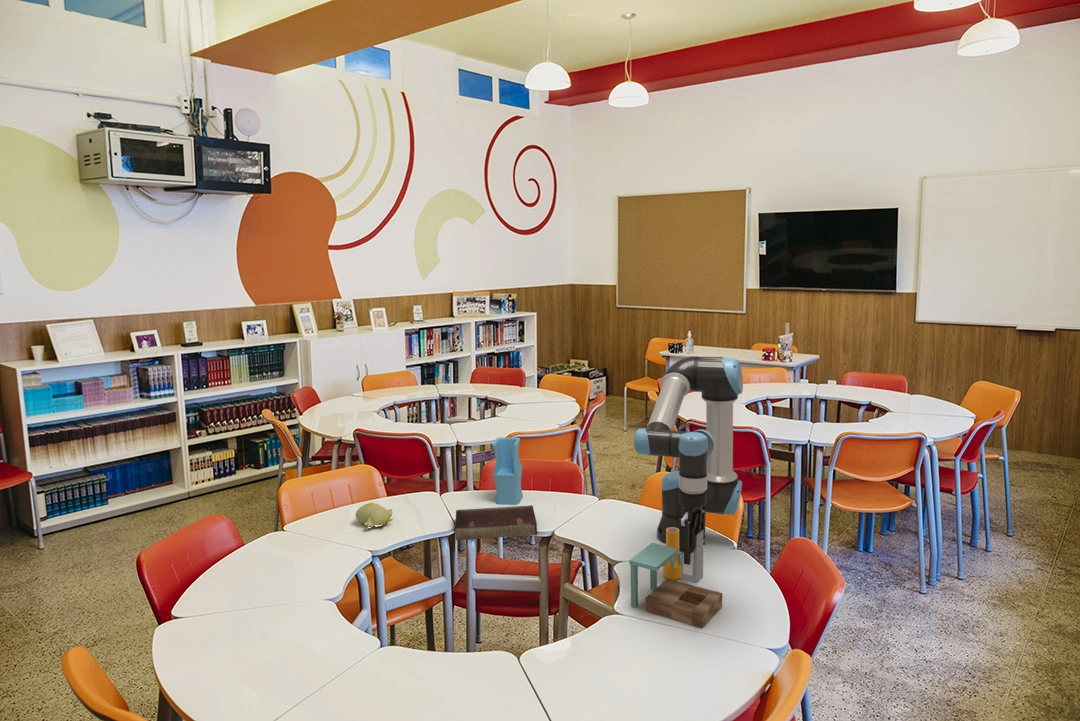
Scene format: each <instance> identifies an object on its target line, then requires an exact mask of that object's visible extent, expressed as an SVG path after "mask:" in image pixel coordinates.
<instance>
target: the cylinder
mask: <svg viewBox="0 0 1080 721" xmlns="http://www.w3.org/2000/svg"><path fill="white" fill-rule="evenodd" d="M665 546H667V547H672V548H676V549H678V554H677V555H675V556H674V557H673V558H672V559H671V560H669V561H668V562H667V563H666V564H665V565H663V566H662V576H663V577H664V578H665V579H667V578H668V579H671V580H675V581H676V580H681V552H680V551H679V529H678V528H675V527H669V528H667V529H666V543H665Z"/></svg>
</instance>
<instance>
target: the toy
mask: <svg viewBox="0 0 1080 721" xmlns="http://www.w3.org/2000/svg"><path fill="white" fill-rule="evenodd" d="M392 516H393V508H390V509H387V508H385V507H383V506H381V505H379V504H378V503H375V502H370V503H369V502H368V503H366V504H364V505H362V506H360V507H359V508H358V509H357V510H356V512H355V519H356V520H357V521H358V522H359V523H361V522H362V523H361V524H364V523H366V524H364V526H366V527H365V528H366V529H367V528H368V527H372V526H374V525H381V524H382V525H383V524H384V525H386V524H387V523H389V522H392V521H393V518H392ZM386 522H387V523H386ZM385 523H386V524H385ZM382 525H381V526H378V527H377V528H381V527H383V526H384V525H383V526H382Z"/></svg>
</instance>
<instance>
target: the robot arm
mask: <svg viewBox="0 0 1080 721" xmlns="http://www.w3.org/2000/svg"><path fill="white" fill-rule="evenodd" d="M742 371H743V370H742V366H741V363H740V361H739V360H738V359H737V358H735V357H726V356H694V355H692V356H687V357H684V358H681V359H680V360H677V361H676V362H674V363H673V364H671V365H670V366H669V367H668V368H667V369H666V370H665V372H664V373H663V375H662V377H661V379H660V392H659V394H658V396H657V400H656V402H655V405H654V407H653V410H652V413H651V416H650V418H649V421H648V422H647V425H646V427H644V428H638V429H636V431H635V433H634V438H633V445H634V446H633V447H634V451H635V452H636V454H639V455H645V456H654V457H668V458H669V457H670V458H678V468H679V469H678V470H673V471H671V472H668V473H666V474H665V475H664V476H663V477H662V481H661V488H660V489H661V517H660V520H659V523H658V526H657V529H656V538H657V539H658V540H659V541H661V542H662V543H664V544H666V529H667V528H669V527H675V528H678V529H679V551H680V552H682V553H683V574H687V575H691V576H693V573H694V552H692V548H693V534H694V529H703V546H705V545H706V542H705V540H706V513H707V514H708V513H709V514H716V515H717V514H718V515H723V516H724V515H731V516H732V515H735V514H736V513H737V512H738V508H739V506H740V505H739V504H740V501H741V500H740V499H741V495H742V488H743V481H742V480H740V479H738V474H737V473H736V472H735V471H734V470H733V468H734V467H733V466H734V462H733V461H734V460H733V459H734V457H733V455H734V454H733V453H734V447H733V446H734V403H735V402H736V401H737V400H738V398H739V395H741V394H742V393H743V390H744V384H743V383H744V380H743V379H744V378H743V377H744V376H743V372H742ZM690 392H696V393H701V399H702V400H703V401H704V402H705V403H706V404H705V405H706V407H705V408H706V412H705V414H706V427H705V428H706V429H696V430H693V431H684V430H683V431H682V430H681V431H680V430H674V428H675V425H676V422H677V419H678V416H679V412H680V409H681V406H682V404H683V401H684V398H685V397H686V396H687V395H688V394H689V393H690Z"/></svg>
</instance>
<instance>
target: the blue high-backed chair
mask: <svg viewBox="0 0 1080 721" xmlns="http://www.w3.org/2000/svg"><path fill="white" fill-rule="evenodd" d="M520 440H521V438H520V437H503V436H502V437H497V438H496V439H495V440H494V441H493V442H492V443H491V444H492V445H491V446H492V449H493V451H494V455H495V465H494V468H493V469H494V470H493V474H492V477H493V481H494V484H495V490H496V496H495V504H496V505H505V506H507V505H510V506H513V505H514V506H518V505H519V504H520V503H521V501H522V499H523V498H524V495H523V491H522V475H523V474H522V473H523V466H522V464H521V460H520V458H519V457H520V456H519V446H520V443H521V442H520Z"/></svg>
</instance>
